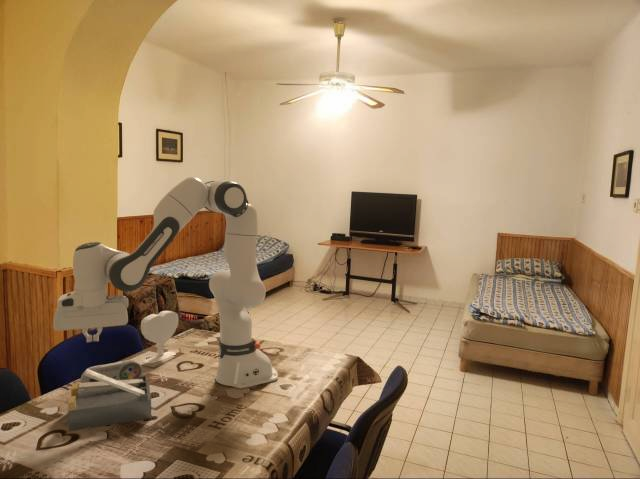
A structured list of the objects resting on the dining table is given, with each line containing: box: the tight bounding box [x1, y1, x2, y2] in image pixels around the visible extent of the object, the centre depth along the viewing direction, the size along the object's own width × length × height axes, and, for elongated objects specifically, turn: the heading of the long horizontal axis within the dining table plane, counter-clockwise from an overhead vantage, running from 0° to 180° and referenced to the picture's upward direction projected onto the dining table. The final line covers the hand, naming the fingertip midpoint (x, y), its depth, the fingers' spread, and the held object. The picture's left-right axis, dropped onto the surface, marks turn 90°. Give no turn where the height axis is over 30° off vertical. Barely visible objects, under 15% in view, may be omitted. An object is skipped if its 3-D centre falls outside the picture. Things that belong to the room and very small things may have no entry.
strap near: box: [84, 368, 145, 396], centre depth 140 cm, size 18×3×1 cm, turn 114°
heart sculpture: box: [140, 310, 179, 364], centre depth 189 cm, size 16×5×18 cm, turn 148°
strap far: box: [79, 379, 144, 390], centre depth 148 cm, size 18×3×1 cm, turn 113°
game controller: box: [80, 359, 143, 383], centre depth 162 cm, size 20×2×8 cm, turn 124°
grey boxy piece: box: [67, 374, 152, 432], centre depth 144 cm, size 22×15×8 cm
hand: (92, 341), depth 144 cm, fingers closed
